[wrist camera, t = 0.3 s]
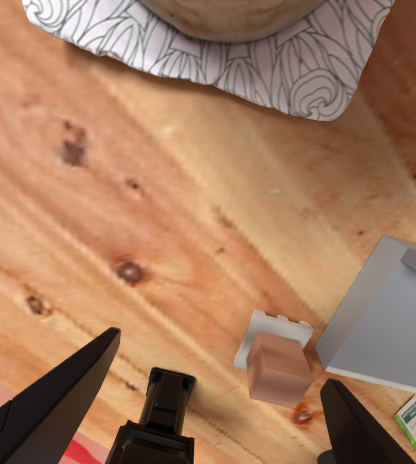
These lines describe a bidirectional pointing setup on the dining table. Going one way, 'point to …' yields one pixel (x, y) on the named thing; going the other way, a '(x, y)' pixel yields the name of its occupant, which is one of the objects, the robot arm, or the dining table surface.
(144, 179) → the dining table surface
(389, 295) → the dock
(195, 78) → the cookie jar
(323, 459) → the travel mug
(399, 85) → the dining table surface
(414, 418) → the syrup box
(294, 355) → the pallet
